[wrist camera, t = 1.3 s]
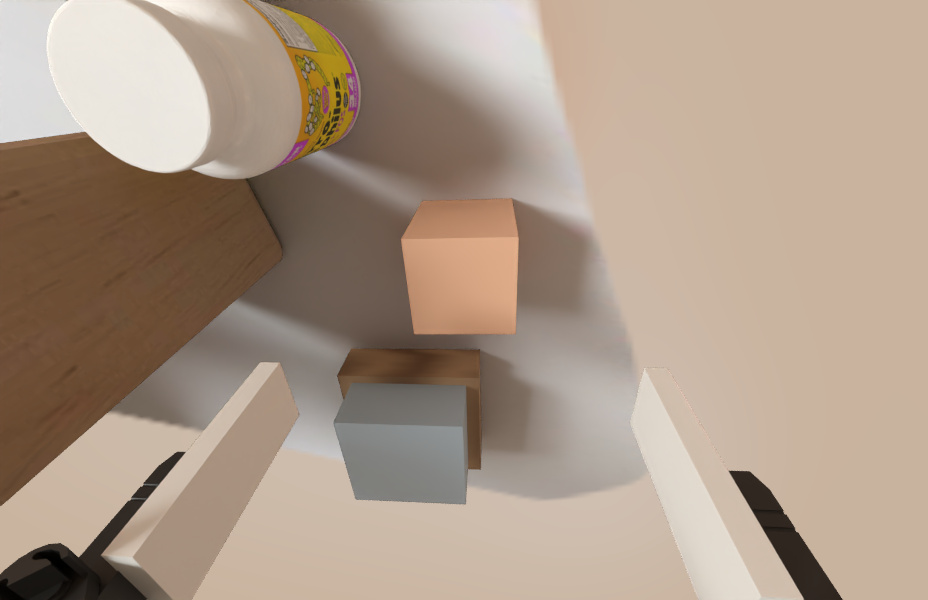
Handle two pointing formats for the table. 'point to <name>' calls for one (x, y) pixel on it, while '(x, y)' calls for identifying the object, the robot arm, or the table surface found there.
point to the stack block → (462, 267)
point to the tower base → (422, 378)
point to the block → (105, 283)
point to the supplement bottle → (202, 82)
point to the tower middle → (405, 442)
